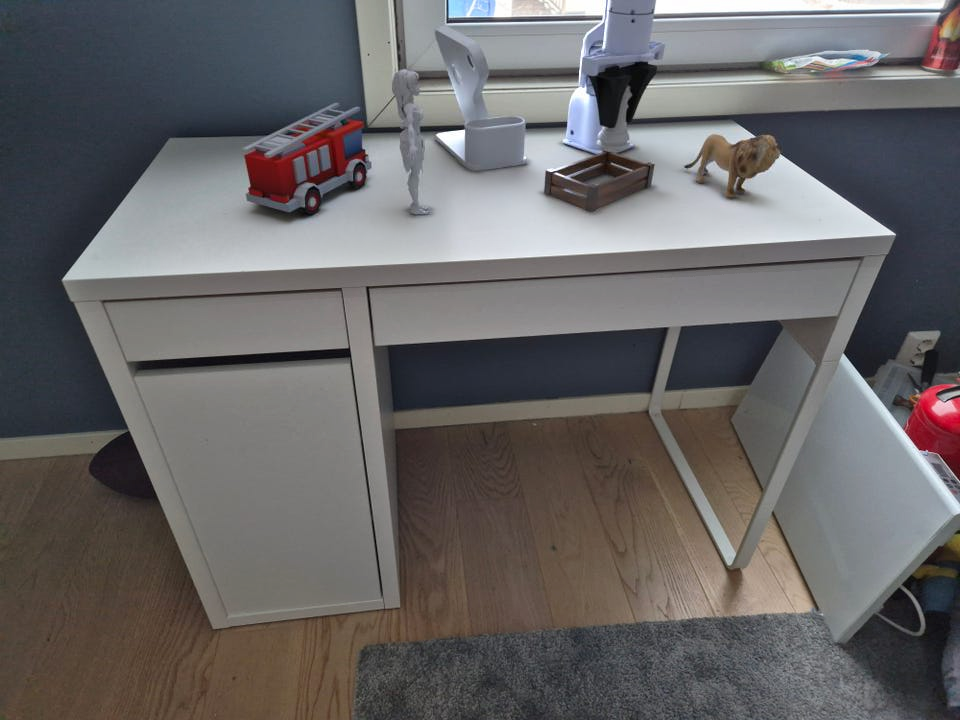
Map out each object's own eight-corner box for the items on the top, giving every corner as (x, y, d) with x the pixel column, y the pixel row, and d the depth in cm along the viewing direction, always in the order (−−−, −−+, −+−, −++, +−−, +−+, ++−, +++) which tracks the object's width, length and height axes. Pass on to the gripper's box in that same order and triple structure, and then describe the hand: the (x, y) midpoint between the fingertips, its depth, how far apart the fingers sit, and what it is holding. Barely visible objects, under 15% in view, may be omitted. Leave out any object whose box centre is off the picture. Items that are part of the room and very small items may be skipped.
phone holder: (530, 164, 103) (537, 39, 92) (470, 172, 100) (471, 45, 89) (487, 131, 116) (489, 18, 105) (433, 137, 113) (429, 22, 102)
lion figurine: (773, 199, 93) (792, 136, 88) (749, 207, 91) (767, 143, 85) (694, 167, 103) (707, 108, 97) (670, 174, 100) (682, 114, 95)
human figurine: (432, 230, 84) (427, 82, 73) (403, 232, 83) (393, 83, 73) (423, 193, 93) (417, 58, 83) (397, 195, 93) (387, 59, 82)
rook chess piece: (631, 144, 91) (640, 83, 86) (625, 154, 88) (635, 92, 83) (599, 140, 92) (606, 80, 87) (593, 150, 89) (600, 88, 84)
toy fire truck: (378, 178, 98) (373, 109, 92) (294, 225, 84) (281, 149, 78) (331, 167, 101) (322, 100, 95) (243, 211, 88) (226, 136, 82)
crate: (543, 192, 94) (545, 170, 92) (604, 170, 102) (607, 148, 100) (591, 212, 89) (593, 188, 87) (651, 186, 96) (655, 164, 94)
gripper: (619, 22, 74) (604, 142, 82) (692, 9, 81) (671, 119, 90) (572, 13, 78) (562, 129, 86) (645, 1, 86) (630, 108, 94)
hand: (615, 123), depth 88 cm, fingers closed on rook chess piece, 3 cm apart
